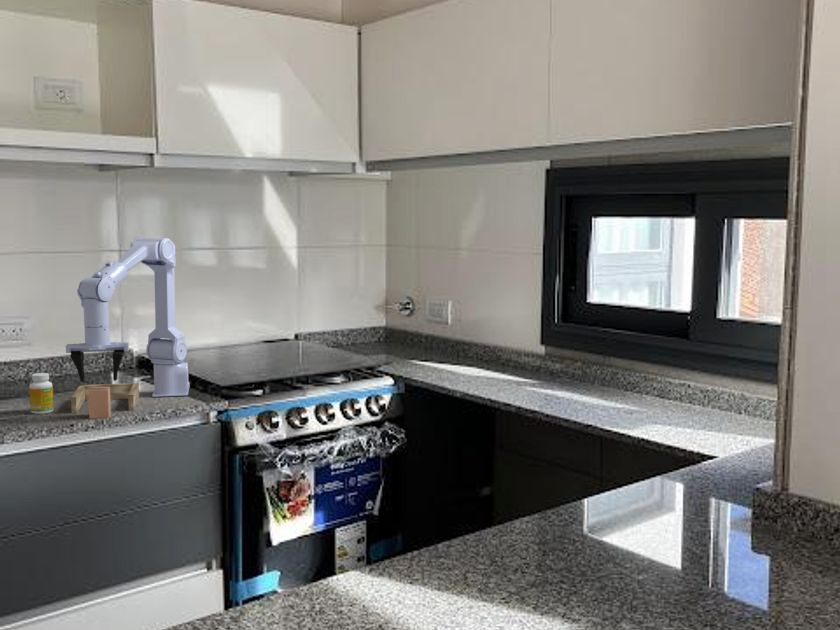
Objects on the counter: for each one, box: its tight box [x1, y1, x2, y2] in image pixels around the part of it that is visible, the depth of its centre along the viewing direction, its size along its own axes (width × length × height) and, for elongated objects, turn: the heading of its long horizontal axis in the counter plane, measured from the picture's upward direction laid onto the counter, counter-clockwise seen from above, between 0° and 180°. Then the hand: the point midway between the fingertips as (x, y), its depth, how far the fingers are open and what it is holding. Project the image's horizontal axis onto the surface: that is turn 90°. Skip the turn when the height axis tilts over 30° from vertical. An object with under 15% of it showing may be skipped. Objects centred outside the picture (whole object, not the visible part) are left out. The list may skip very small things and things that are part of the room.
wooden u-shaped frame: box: [70, 382, 140, 414], centre depth 230 cm, size 15×16×4 cm
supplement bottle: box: [28, 372, 54, 415], centre depth 221 cm, size 5×5×10 cm
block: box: [88, 387, 112, 419], centre depth 217 cm, size 4×4×7 cm
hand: (99, 380), depth 216 cm, fingers open, 7 cm apart
